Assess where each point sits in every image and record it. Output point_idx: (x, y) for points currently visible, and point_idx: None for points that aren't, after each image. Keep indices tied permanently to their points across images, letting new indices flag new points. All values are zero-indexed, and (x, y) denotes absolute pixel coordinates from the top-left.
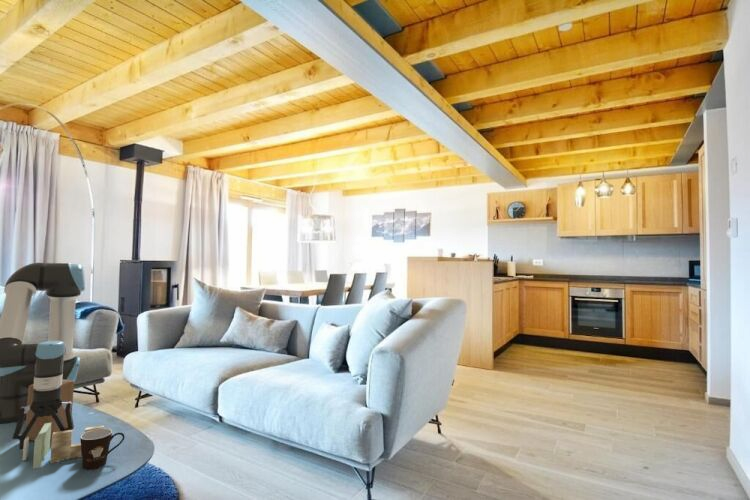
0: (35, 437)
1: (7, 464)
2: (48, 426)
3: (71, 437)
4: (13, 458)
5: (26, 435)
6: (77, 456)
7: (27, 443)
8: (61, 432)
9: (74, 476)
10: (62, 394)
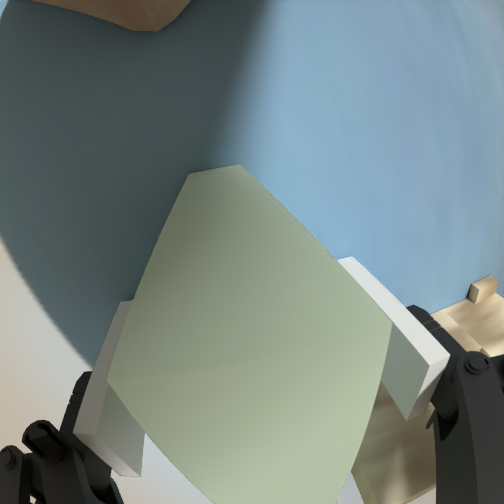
0: (54, 1)
1: (87, 360)
2: (329, 495)
3: None
4: (61, 294)
5: (60, 436)
6: None
7: (130, 421)
8: (425, 492)
9: None
10: None
